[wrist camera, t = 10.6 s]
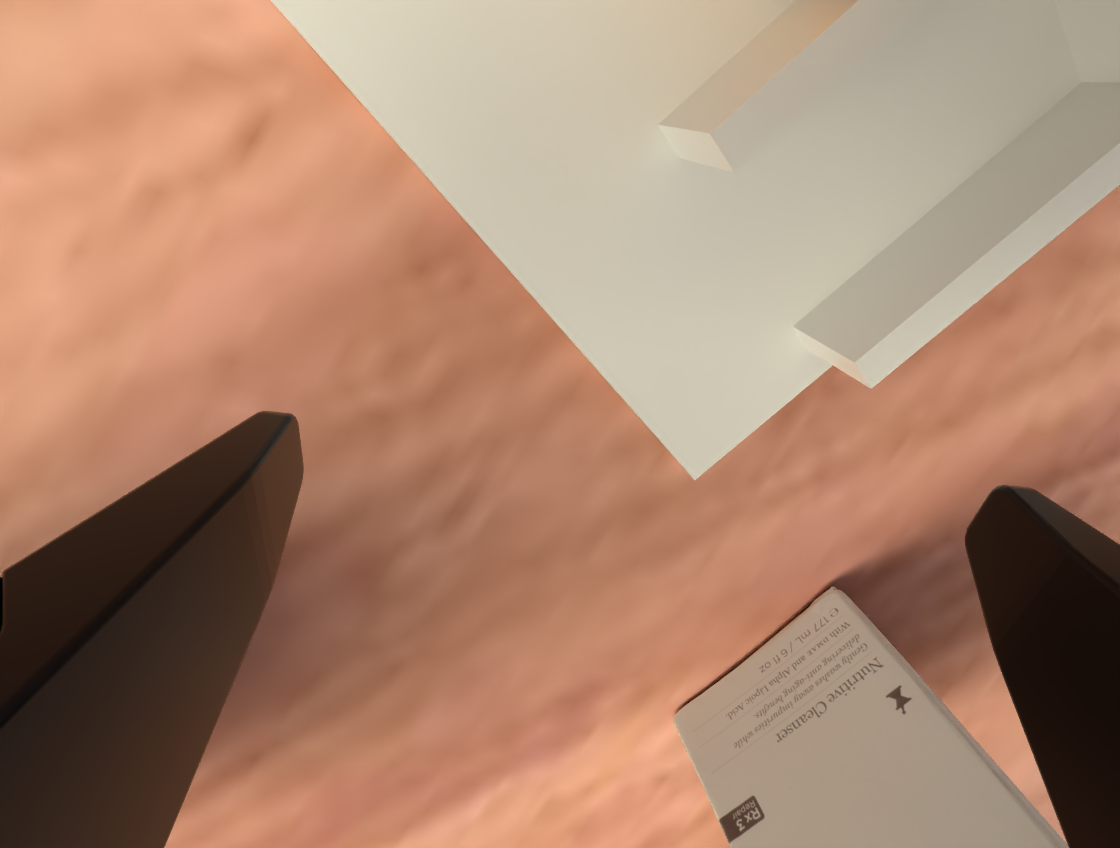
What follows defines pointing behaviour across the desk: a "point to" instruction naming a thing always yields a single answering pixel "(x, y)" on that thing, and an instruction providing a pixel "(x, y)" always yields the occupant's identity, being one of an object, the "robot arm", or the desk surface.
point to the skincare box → (847, 749)
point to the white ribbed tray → (743, 171)
